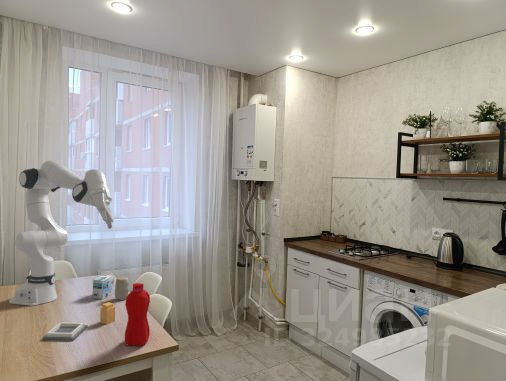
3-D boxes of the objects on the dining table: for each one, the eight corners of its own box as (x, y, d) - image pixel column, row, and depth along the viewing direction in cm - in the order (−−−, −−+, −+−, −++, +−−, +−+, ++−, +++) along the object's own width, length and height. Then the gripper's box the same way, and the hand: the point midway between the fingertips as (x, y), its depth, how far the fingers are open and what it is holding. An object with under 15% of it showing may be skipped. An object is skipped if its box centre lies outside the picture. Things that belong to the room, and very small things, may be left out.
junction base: (42, 340, 144) (42, 334, 144) (59, 326, 157) (59, 321, 157) (73, 340, 144) (73, 335, 144) (87, 327, 157) (87, 321, 157)
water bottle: (152, 334, 152) (153, 279, 151) (144, 347, 141) (146, 287, 140) (131, 334, 152) (132, 278, 151) (122, 346, 141) (123, 286, 140)
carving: (130, 299, 194) (131, 278, 194) (117, 302, 189) (117, 280, 189) (126, 295, 199) (126, 275, 198) (113, 298, 194) (113, 277, 193)
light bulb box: (102, 299, 192) (103, 280, 191) (92, 298, 193) (92, 279, 193) (114, 293, 202) (114, 275, 202) (104, 292, 204) (104, 274, 203)
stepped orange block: (100, 322, 163) (100, 304, 163) (108, 318, 167) (108, 301, 167) (106, 324, 161) (107, 306, 161) (114, 321, 165) (115, 303, 165)
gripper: (100, 210, 171) (106, 234, 165) (88, 190, 153) (94, 217, 148) (113, 206, 173) (119, 230, 167) (102, 186, 155) (109, 212, 150)
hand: (107, 224), depth 157 cm, fingers open, 8 cm apart
